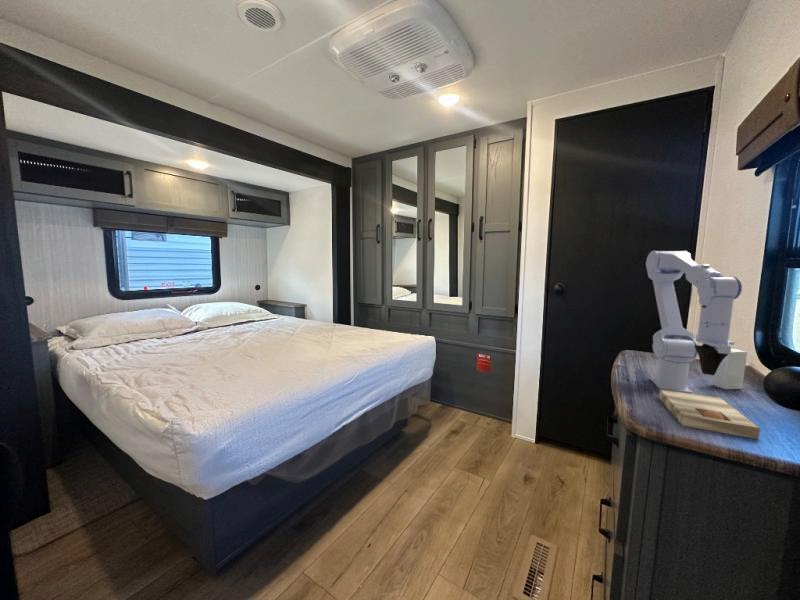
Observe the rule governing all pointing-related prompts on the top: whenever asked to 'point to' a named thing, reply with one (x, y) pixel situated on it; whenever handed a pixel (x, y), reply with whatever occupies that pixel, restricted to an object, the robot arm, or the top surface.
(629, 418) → the top surface
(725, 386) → the skincare box
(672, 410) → the beige flat board
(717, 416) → the ball
